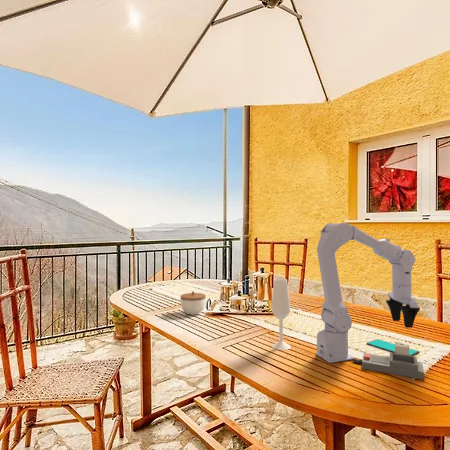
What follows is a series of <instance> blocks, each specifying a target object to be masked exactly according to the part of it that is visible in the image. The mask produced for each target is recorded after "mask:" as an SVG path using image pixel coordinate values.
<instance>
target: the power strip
mask: <svg viewBox="0 0 450 450" xmlns="http://www.w3.org/2000/svg"><path fill="white" fill-rule="evenodd" d="M352 362H353V363H356V364H361V369H362V370H363V369H364V370H368V371H374V372H380V373H385V374H391V375H398V376H400V377H407V378H412V379H419V380H424V381H425V371H424V365H423V361H418V357H417V356H416V355H414V356H409V355H402V354H396V353H392V352H389V356H385V355H379V354H372V353H366V352H364V353H363V355H362V359H357V358H354V359H352Z"/></svg>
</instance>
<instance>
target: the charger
mask: <svg viewBox="0 0 450 450" xmlns="http://www.w3.org/2000/svg"><path fill="white" fill-rule="evenodd" d="M394 344H395V353H396V354H402V355H409V349H410V343H407V342H406V343H405V342H399V341H394Z"/></svg>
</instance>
